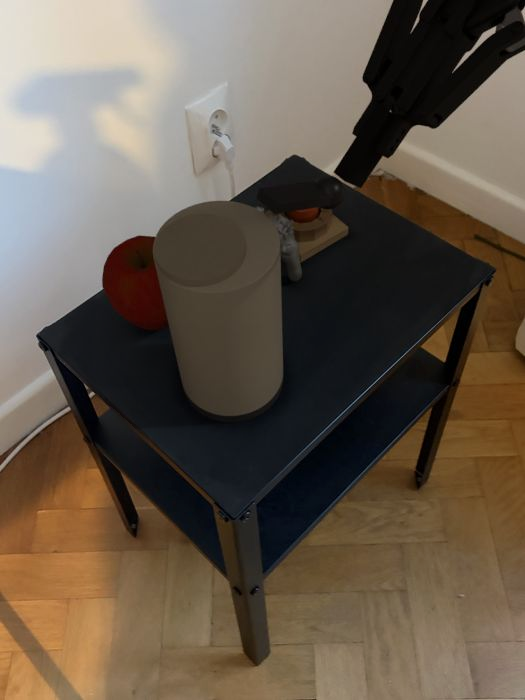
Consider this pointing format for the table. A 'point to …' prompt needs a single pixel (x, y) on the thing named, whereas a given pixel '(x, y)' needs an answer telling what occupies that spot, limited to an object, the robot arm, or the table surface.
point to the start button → (303, 215)
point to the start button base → (316, 232)
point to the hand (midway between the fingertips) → (347, 180)
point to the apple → (135, 283)
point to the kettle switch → (303, 195)
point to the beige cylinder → (223, 306)
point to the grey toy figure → (287, 245)
